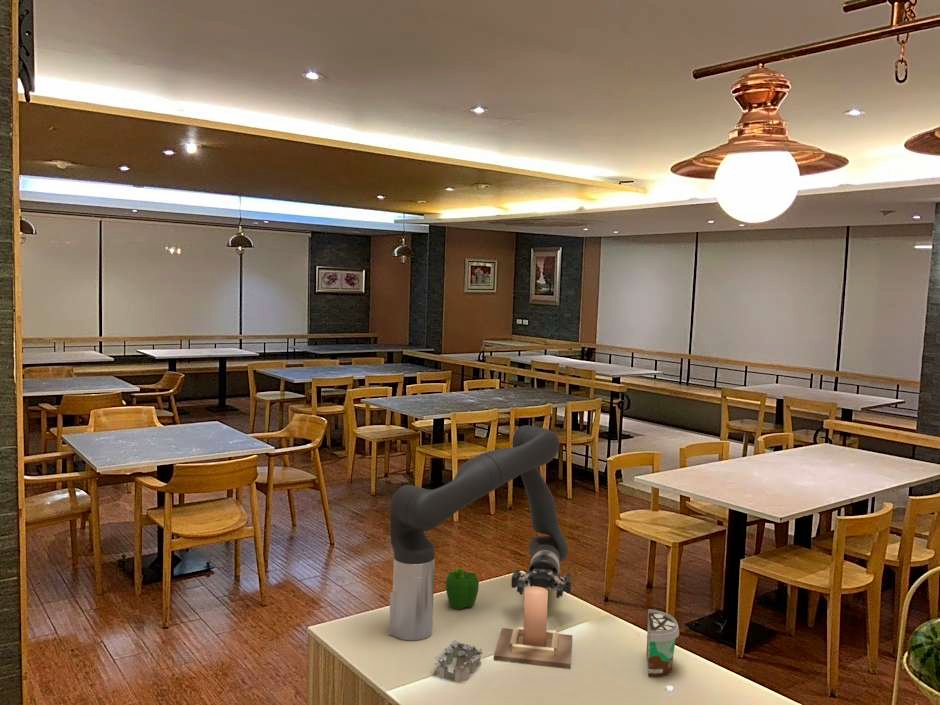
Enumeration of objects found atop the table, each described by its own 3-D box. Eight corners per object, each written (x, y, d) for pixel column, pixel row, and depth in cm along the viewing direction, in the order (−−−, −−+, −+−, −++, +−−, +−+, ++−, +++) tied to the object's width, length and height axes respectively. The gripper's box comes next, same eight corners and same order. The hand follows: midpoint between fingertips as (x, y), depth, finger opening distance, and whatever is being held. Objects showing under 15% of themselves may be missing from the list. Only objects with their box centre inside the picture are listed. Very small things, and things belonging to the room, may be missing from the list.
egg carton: (464, 686, 143) (464, 665, 143) (430, 677, 146) (430, 657, 146) (485, 662, 153) (486, 643, 152) (453, 654, 156) (454, 636, 156)
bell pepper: (466, 596, 188) (468, 558, 187) (483, 608, 181) (484, 568, 180) (438, 602, 183) (439, 563, 183) (454, 614, 176) (455, 573, 176)
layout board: (493, 660, 153) (494, 648, 153) (501, 632, 167) (502, 621, 167) (570, 668, 151) (570, 656, 151) (572, 639, 165) (572, 628, 164)
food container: (679, 684, 146) (682, 635, 145) (648, 680, 147) (650, 631, 147) (675, 656, 158) (677, 611, 158) (646, 652, 159) (648, 608, 159)
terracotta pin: (521, 648, 157) (523, 593, 156) (524, 638, 162) (525, 585, 161) (545, 650, 156) (547, 596, 156) (546, 640, 161) (548, 587, 161)
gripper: (516, 551, 186) (509, 573, 170) (573, 556, 183) (571, 579, 167) (515, 580, 186) (508, 605, 170) (572, 586, 184) (569, 611, 168)
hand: (539, 592), depth 169 cm, fingers open, 8 cm apart
